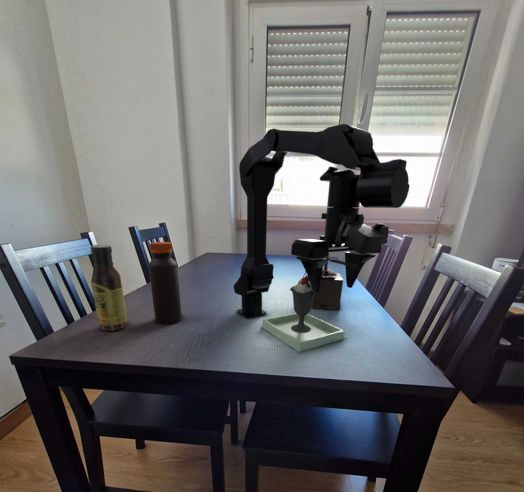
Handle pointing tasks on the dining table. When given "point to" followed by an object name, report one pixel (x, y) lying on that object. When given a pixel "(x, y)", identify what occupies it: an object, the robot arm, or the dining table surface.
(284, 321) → the serving tray
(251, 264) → the robot arm
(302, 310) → the sundae
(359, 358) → the dining table surface
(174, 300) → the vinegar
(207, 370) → the dining table surface
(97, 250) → the sauce bottle
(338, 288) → the manual coffee grinder
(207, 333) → the dining table surface
